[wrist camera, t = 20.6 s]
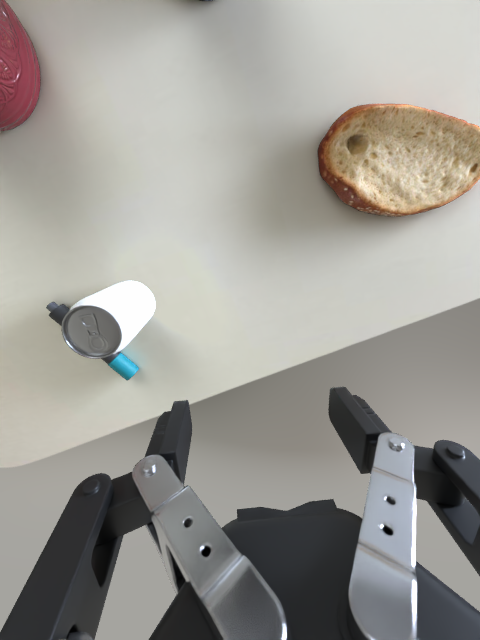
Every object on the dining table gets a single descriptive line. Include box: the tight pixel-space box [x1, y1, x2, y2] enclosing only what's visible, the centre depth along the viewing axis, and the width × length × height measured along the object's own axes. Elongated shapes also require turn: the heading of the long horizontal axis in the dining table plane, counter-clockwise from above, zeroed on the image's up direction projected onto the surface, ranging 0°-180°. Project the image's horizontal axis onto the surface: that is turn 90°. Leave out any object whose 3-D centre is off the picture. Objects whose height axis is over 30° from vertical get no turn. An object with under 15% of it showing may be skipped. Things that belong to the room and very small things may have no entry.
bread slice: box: [318, 104, 480, 217], centre depth 31 cm, size 18×18×4 cm
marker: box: [46, 302, 139, 380], centre depth 36 cm, size 15×2×2 cm
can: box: [62, 281, 156, 359], centre depth 30 cm, size 6×6×12 cm
